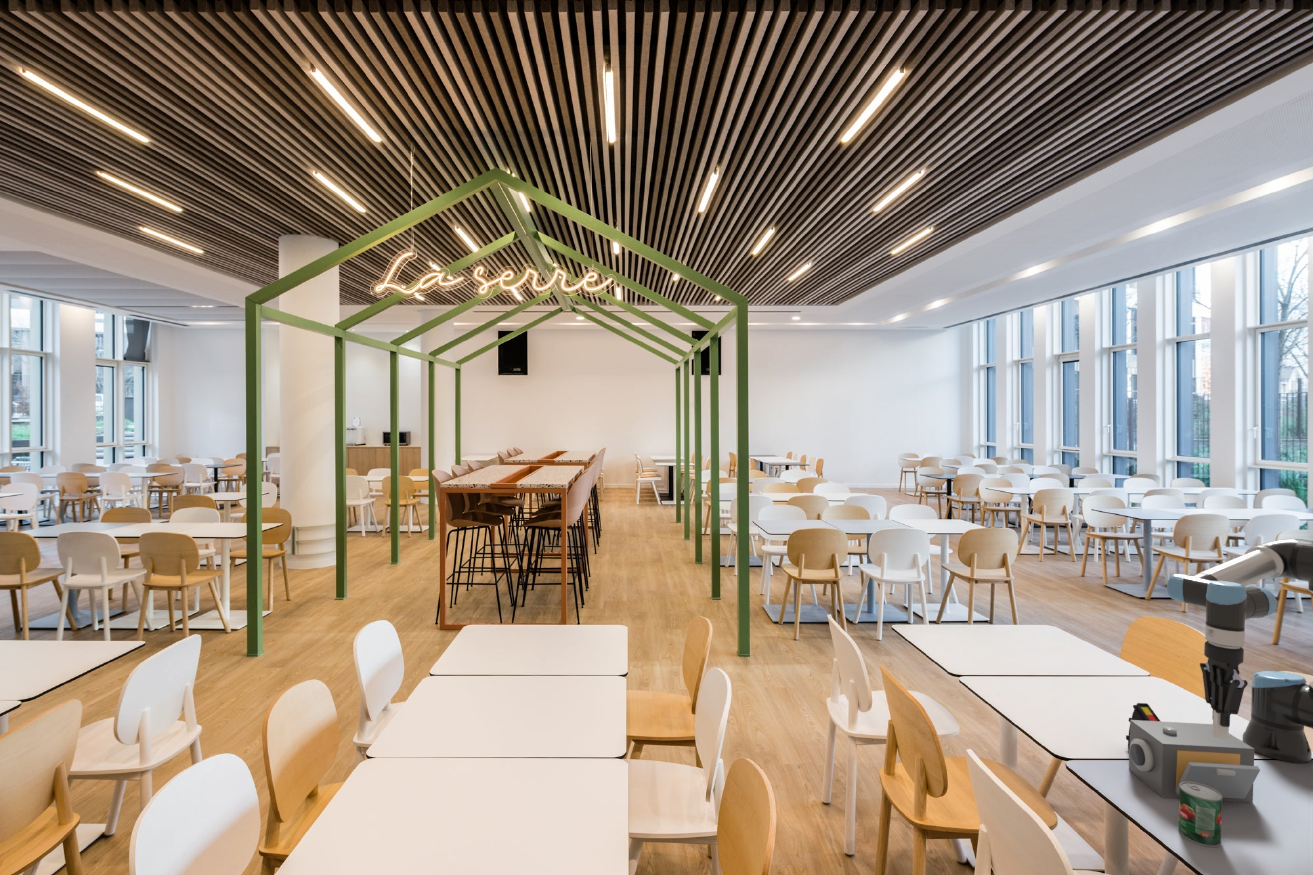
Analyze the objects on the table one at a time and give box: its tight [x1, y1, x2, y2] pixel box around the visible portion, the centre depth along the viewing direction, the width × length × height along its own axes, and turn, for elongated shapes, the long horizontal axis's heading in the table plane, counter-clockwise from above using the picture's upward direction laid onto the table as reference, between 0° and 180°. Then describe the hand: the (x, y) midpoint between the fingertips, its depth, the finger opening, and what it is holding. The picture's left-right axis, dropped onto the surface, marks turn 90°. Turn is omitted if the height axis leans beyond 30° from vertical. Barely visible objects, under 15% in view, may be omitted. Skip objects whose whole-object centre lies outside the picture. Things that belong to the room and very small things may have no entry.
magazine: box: [1125, 702, 1162, 749], centre depth 194 cm, size 4×13×15 cm, turn 177°
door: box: [1175, 762, 1261, 799], centre depth 169 cm, size 2×16×11 cm, turn 84°
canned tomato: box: [1177, 782, 1223, 848], centre depth 157 cm, size 8×8×11 cm
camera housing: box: [1128, 720, 1255, 804], centre depth 180 cm, size 24×14×15 cm, turn 84°
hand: (1220, 736), depth 168 cm, fingers closed
